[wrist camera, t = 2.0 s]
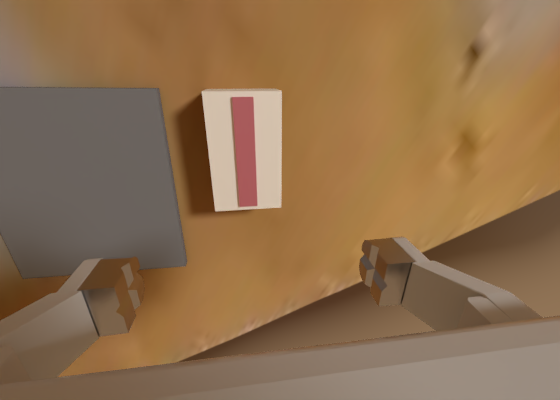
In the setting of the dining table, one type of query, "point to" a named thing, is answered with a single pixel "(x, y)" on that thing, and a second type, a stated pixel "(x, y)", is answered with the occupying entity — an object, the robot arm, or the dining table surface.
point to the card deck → (244, 147)
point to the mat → (86, 179)
